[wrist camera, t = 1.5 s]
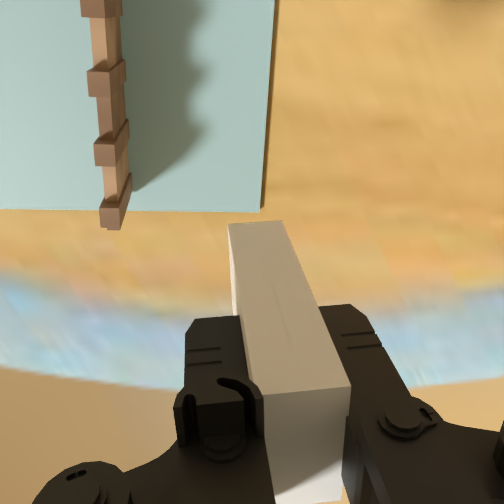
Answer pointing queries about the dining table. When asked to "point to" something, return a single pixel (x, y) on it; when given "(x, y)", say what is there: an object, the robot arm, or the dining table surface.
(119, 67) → the fence panel
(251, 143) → the board
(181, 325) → the dining table surface
